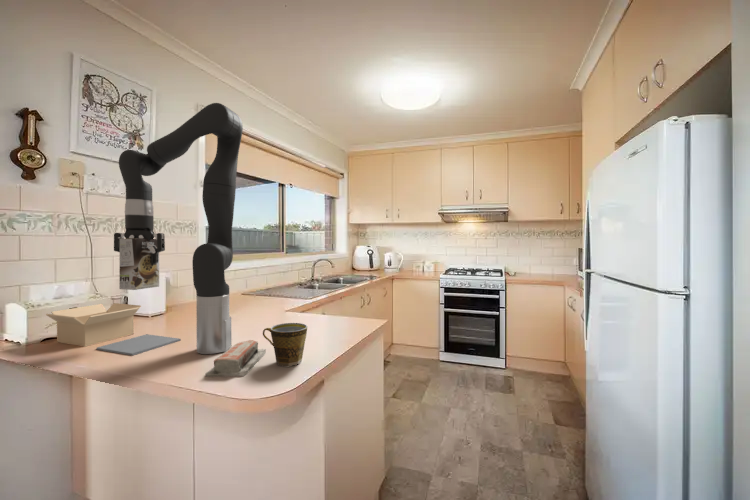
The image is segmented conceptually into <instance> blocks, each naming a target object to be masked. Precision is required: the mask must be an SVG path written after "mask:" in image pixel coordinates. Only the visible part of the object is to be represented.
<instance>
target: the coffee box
mask: <svg viewBox="0 0 750 500" xmlns="http://www.w3.org/2000/svg"><path fill="white" fill-rule="evenodd" d="M146 240H147V241H148V242H149V243H150V244H154V245H156V247H157V240H156V238H153V239H151V240H150V241H149V240H148V239H143V238H125V237H124V239H120V252H119V259H118V261H119V275H118V277H119V290H125V291H126V290H129V291H130V290H131V291H138V290H139V291H140V290H144V289H151V288H157V287H158V288H159V287H160V253H159V254H158V263H157V264H156V265H151V254H152V252H151V251H150V250H149V249H148V248H147V242H146Z"/></svg>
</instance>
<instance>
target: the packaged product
mask: <svg viewBox="0 0 750 500" xmlns="http://www.w3.org/2000/svg"><path fill="white" fill-rule="evenodd" d="M258 347H259V342H258V341H255V340H254V339H249V340H246V341H239V342H237V343H236V344H234V345H233V346H231V347H230V348H229V349H228V350H227V351H226V352H222V353H221V355H219V356H218V357H216V358H215V359H214V360H213V367H212V368H211V369H209V370H208V371H207V372H206V373H205V377H245V376H246V375H248V373H249V372H250V371H251V370H252V369H253V368H254V367H255V366H256V365H257V364H256V363H257V362H258V363H259V362H260V360H261V359H262V358H263V357H264V356H265V355H266V352H267V349H266V348H261V349H259V348H258ZM255 364H256V365H255ZM254 365H255V366H254Z"/></svg>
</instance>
